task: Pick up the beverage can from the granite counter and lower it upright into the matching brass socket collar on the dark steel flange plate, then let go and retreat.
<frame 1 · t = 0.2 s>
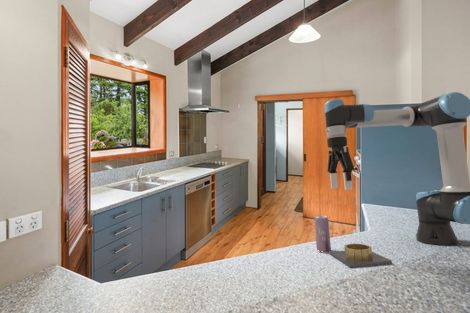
hand: (341, 189, 105), 28 cm above the countertop, tool pointing down, fingers open, 13 cm apart
beverage can: (323, 251, 114), on the countertop
pipe socket: (358, 259, 101), on the countertop
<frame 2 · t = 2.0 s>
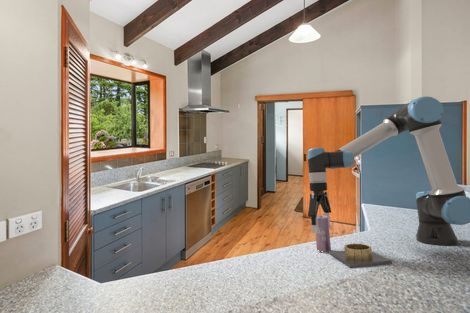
hand: (321, 229, 115), 9 cm above the countertop, tool pointing down, fingers open, 13 cm apart
nothing on the countertop moved.
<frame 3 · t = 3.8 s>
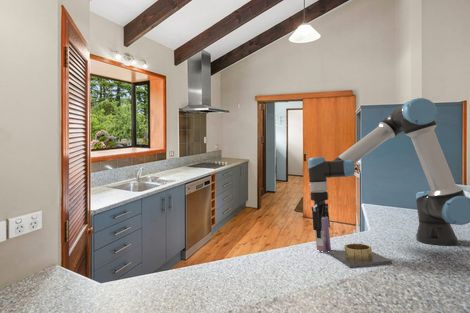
hand: (323, 243, 114), 3 cm above the countertop, tool pointing down, fingers closed on beverage can, 6 cm apart
beverage can: (323, 251, 114), on the countertop, touching gripper
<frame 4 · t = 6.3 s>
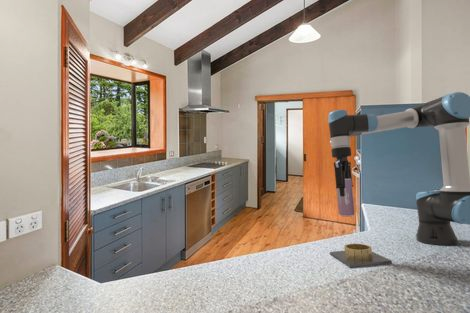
hand: (346, 203, 105), 21 cm above the countertop, tool pointing down, fingers closed on beverage can, 5 cm apart
beverage can: (346, 216, 105), point 16 cm above the countertop, touching gripper
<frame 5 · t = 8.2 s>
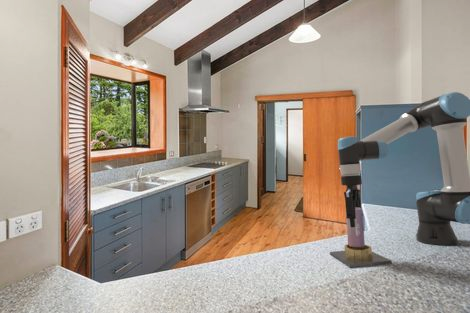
hand: (356, 233, 102), 10 cm above the countertop, tool pointing down, fingers closed on beverage can, 5 cm apart
beverage can: (356, 247, 101), point 5 cm above the countertop, touching gripper
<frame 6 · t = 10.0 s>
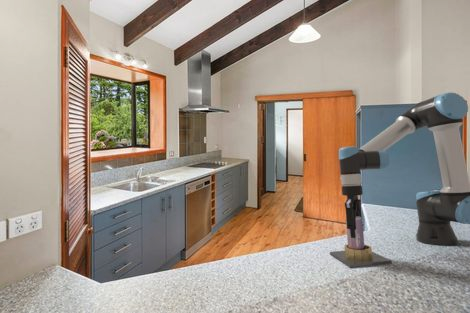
hand: (356, 244, 101), 6 cm above the countertop, tool pointing down, fingers closed on beverage can, 5 cm apart
beverage can: (357, 256, 101), point 1 cm above the countertop, touching gripper, pipe socket
when the fingers open (6 cm above the countertop, at t = 10.0 s): beverage can stays where it is, resting on pipe socket.
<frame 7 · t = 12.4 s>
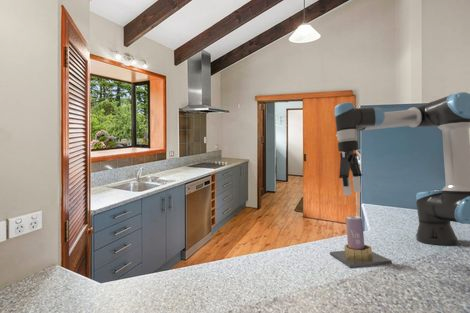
hand: (352, 193, 103), 26 cm above the countertop, tool pointing down, fingers open, 13 cm apart
beverage can: (357, 256, 101), point 1 cm above the countertop, touching pipe socket
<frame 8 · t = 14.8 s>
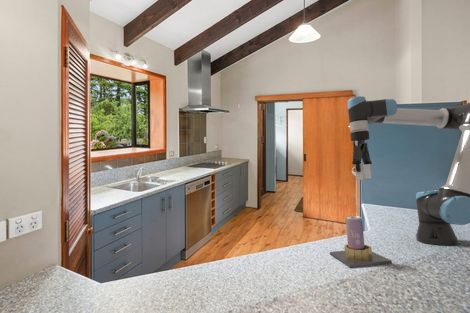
hand: (364, 179, 113), 31 cm above the countertop, tool pointing down, fingers open, 13 cm apart
nothing on the countertop moved.
at the end: beverage can 0.8 cm off-centre on the pipe socket, point 1.0 cm above the pipe socket's base; beverage can tilted 0°; the gripper is holding nothing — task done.
